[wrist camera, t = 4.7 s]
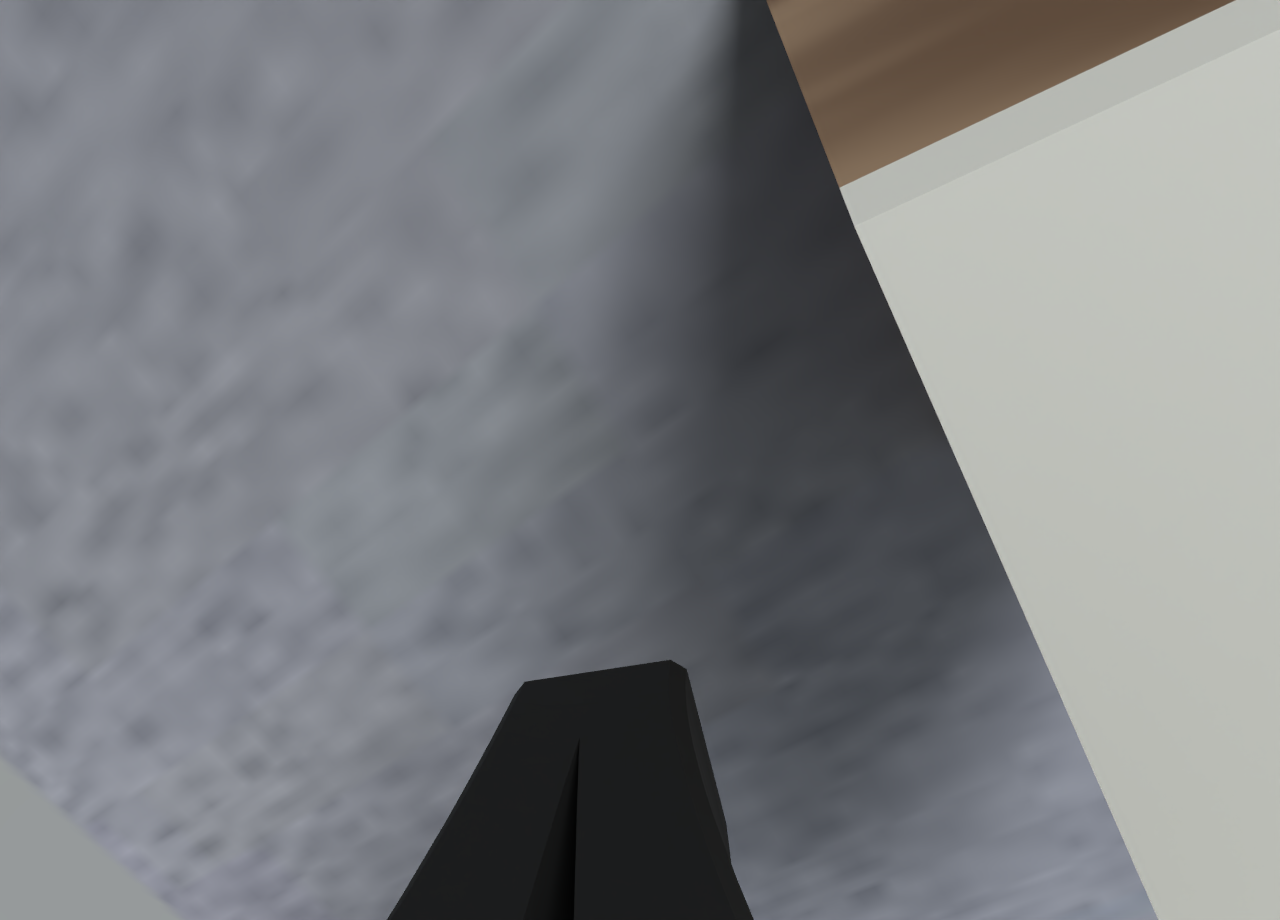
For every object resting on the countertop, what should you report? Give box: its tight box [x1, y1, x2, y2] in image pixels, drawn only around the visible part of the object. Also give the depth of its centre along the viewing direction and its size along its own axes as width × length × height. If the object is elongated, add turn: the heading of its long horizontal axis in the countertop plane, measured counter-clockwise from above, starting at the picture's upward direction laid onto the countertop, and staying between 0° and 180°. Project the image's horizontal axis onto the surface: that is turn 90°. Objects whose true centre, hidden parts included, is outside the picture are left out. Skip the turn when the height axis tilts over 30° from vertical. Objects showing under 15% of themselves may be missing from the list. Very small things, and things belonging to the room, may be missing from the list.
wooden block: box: [766, 0, 1280, 920], centre depth 11 cm, size 3×8×10 cm, turn 27°
